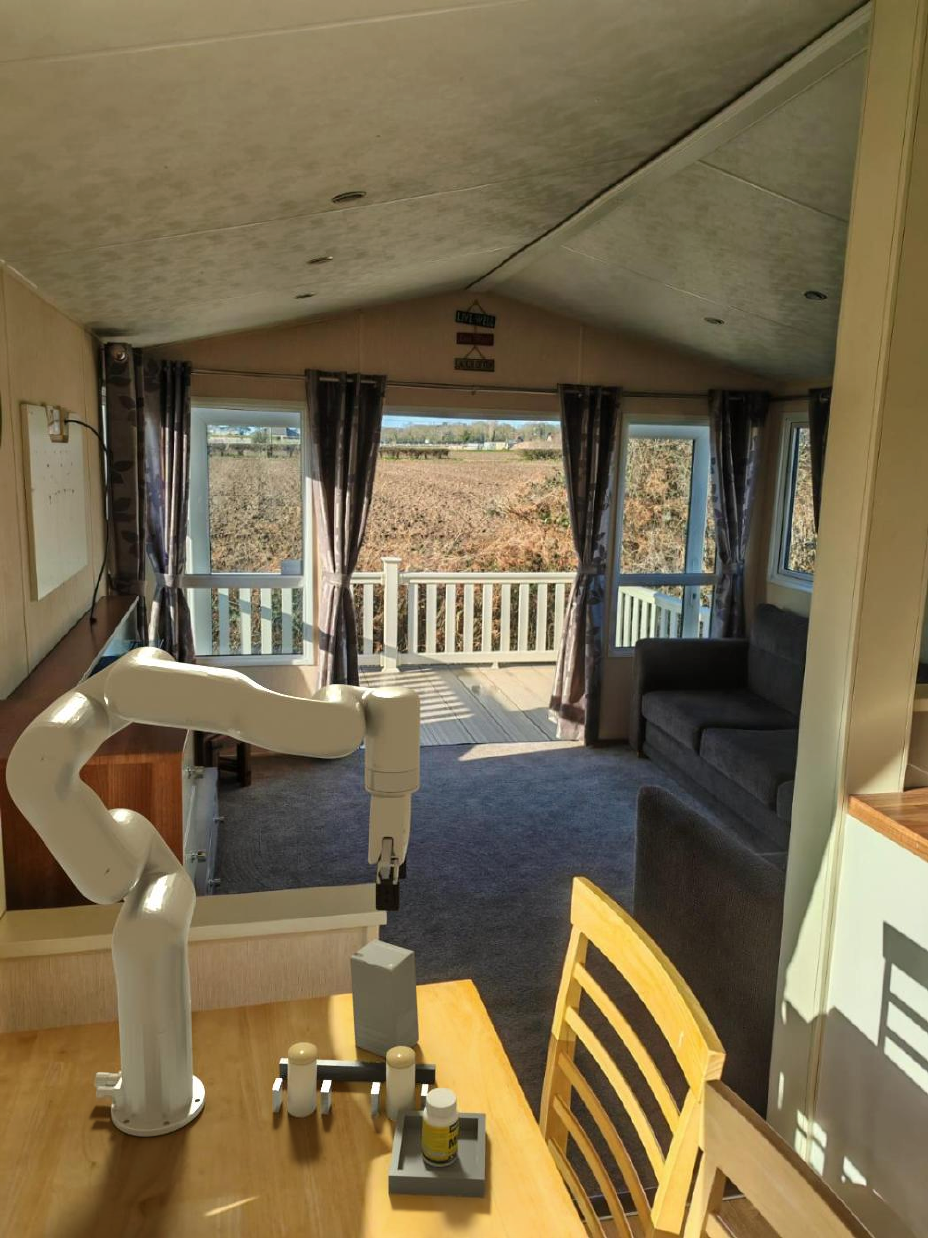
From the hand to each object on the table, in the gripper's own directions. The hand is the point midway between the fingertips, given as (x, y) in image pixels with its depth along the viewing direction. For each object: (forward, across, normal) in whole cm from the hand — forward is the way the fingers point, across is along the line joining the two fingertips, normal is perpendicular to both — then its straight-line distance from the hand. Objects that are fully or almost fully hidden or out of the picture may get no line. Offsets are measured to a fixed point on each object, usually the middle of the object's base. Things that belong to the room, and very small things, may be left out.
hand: (391, 893), depth 133 cm
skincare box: (+31, -10, -2) cm, 32 cm away
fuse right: (+30, +5, +2) cm, 31 cm away
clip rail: (+30, +2, -5) cm, 31 cm away
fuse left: (+30, +5, -12) cm, 33 cm away
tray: (+30, +14, +8) cm, 34 cm away
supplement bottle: (+30, +14, +8) cm, 34 cm away
